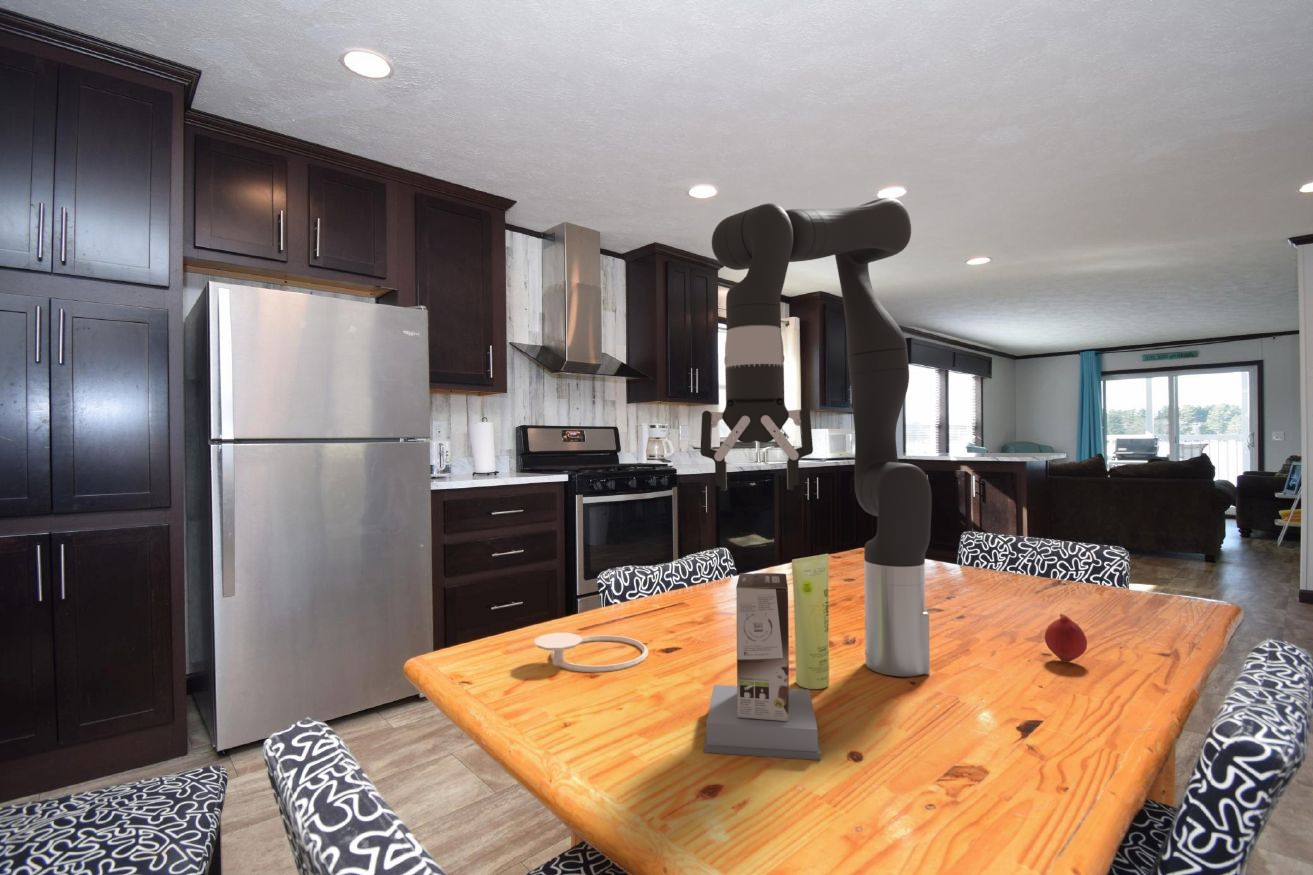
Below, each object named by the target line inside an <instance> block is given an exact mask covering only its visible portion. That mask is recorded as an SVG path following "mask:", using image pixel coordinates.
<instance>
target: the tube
mask: <svg viewBox="0 0 1313 875" xmlns="http://www.w3.org/2000/svg"><path fill="white" fill-rule="evenodd" d="M829 561H830V556H829V553H825V554H824V553H823V554H819V555H813V556H807V557H806V556H805V557H800V558H795V559H791V571H792V588H793V590H792V591H793V610H794V611H793V614H794V615H793V616H794V619H793V620H794V644H795V645H794V646H795V647H794V649H795V682H796V684H797V685H798V687H799V686H800V687H801V688H804V689H806V690H821V689H825V688H827V687H829V685H830V645H829V644H830V642H829V640H830V638H829V636H830V634H829V632H830V631H829V628H830V627H829V624H830V622H829V620H830V619H829V618H830V617H829V616H830V615H829V610H830V609H829V608H830V607H829V603H830V602H829V576H830V575H829V573H830V572H829V566H830V565H829V564H830V563H829Z"/></svg>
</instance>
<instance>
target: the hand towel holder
mask: <svg viewBox="0 0 1313 875" xmlns="http://www.w3.org/2000/svg"><path fill="white" fill-rule="evenodd" d="M533 640H534V644H535V646H536V647H537V648H538V649H542V650H544V651H550V652H551V651H552V652H551V654H550V657H551V660H552V662H551V663H552V665H553V666H554V667H561V668H563V669H565V670H570V671H575V672H583V673H606V672H614V671H619V670H625V669H628V668H632V667H635V666H637V665H639V664H640V663H642V662H644V660H645V659H647V658H648V655H649V650H648V648H647V647H646V645H645V644H644V643H643V642H641V641H640V640H637V639H634V638H631V637H627V636H621V635H606V634H605V635H599V634H598V635H587V636H581V635H579V634H575V633H571V632H553V633H547V634H542V635H540V636H538V637H537V638H535V639H533ZM593 641H594V642H618V643H623V644H630V645H632V646H636V647H637V648H638V649H640V650H641V651H642V653H641V654H640V655H639V656H637V657H636V658H634V659H630V660H627V661H624V662H620V663H614V664H606V665H605V664H603V665H589V664H588V665H585V664H578V663H572V662H568V661H565V660H564V651H565V650H566V651H567V650H570V649H575V648H576V647H577V646H579V645H580V644H584V643H585V644H586V643H591V642H593Z"/></svg>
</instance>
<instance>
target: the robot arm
mask: <svg viewBox="0 0 1313 875" xmlns="http://www.w3.org/2000/svg"><path fill="white" fill-rule="evenodd" d="M908 212H909V211H908V210H907V208H906V207H905V205H904V204H903V203H902V202H901V201H900V200H898V199H896V198H893V197H882V198H878V199H874V200H870V201H868V202H866V203H862V204H859V205H857V206H851V207H841V208H839V207H838V208H817V209H816V208H815V209H814V208H795V209H793V208H792V209H785V210H784V209H783V207H781V206H780V205H779V204H775V203H769V202H768V203H764V204H760V205H757V206H753V207H751V208H749V209H745V210H744V211H741V212H738V213H735V214H733V215H729V216H727V217H726V218H724V219H723V220H721V221H720V222H719V223H718V224H717V225H716V227H715V229H714V231H713V233H712V236H711V248H712V252H713V255H714V257H715V258H716V260H717V261H718V262H719V263H720V264H721V265H722V266H723V267H725V268H728V269H729V270H734V271H742V270H747V273H746V275H745V277H743V279H742V280H740V281H738V283H736V284H734V285H732V286H731V287H730V288H729V289H728V291H727V293H726V299H725V310H726V312H725V315H726V318H725V320H726V321H725V322H726V323H725V324H726V332H725V333H726V337H725V343H724V344H725V345H724V361H723V362H724V366H725V372H724V373H725V375H724V376H725V408H724V410H723V411H710V410H704V411H703V412H702V413H701V427H700V429H701V430H700V432H701V433H700V450H699V452H700V455H701V456H702V457H706V458H708V459H712V461H713V462H714V466H715V467H714V470H715V471H714V472H715V474H714V475H715V485H716V487H717V486H718V487H720V491H727V490H728V485H727V484H728V483H727V481H728V480H727V479H728V478H727V476H728V475H727V471H728V470H727V461H726V456H727V455H728V453H729V452H730V451H731V449H733V447H734V445H735V444H736V443H737V441H739V442H741V443H743V444H750V443H753V442H759V443H763V444H764V443H770V442H771V441H775V442H776V443H777V445H778V446H779V447H780V448H781V450H782V451H783V452H784V454H785V455H786V456H787V460H786V482H787V483H786V486H787V487H786V489H787V490H788V491H789V490H792V491H794V486H798V484H799V482H800V475H799V474H800V470H799V468H800V467H799V464H800V463H799V462H800V460H801V459H802V458H803V457H806V456H809V455H811V454H813V452H814V445H813V433H812V422H811V412H810V409H809V408H807V407H803V408H801V409H792V410H791V409H790V410H788V409H787V406H786V403H785V364H784V362H785V355H784V342H783V335H782V329H781V328H782V311H781V309H782V308H781V297H782V293H783V288H784V285H785V280H786V278H787V271H788V268H789V265H790V264H789V263H795V262H796V263H797V262H798V263H799V262H805V261H812V260H818V259H823V258H828V257H832V256H835V262H836V267H837V273H838V279H839V284H840V290H841V295H842V302H843V310H844V319H845V329H846V331H845V332H846V343H847V345H846V346H847V360H848V361H847V362H848V371H849V372H848V373H849V380H850V382H849V383H850V388H851V397H852V398H851V400H852V411H853V412H852V413H853V426H854V444H855V445H854V492H855V495H856V496H855V497H856V500H857V502H858V504H859V506H860V507H861V508H862V510H864V512H866V513H868V514H869V515H872V516H874V517H877V528H876V529H877V530H876V534H875V536H874V537H873V538H872V539H870V540H868V541H866V543H865V544H864V550H863V551H864V552H863V555H864V556H863V558H864V561H863V563H864V564H863V566H864V623H865V624H864V625H865V626H864V629H865V631H864V632H865V634H864V636H865V639H864V640H865V643H864V644H865V647H864V648H865V650H864V651H865V652H864V654H865V666H866V667H867V668H869V669H870V670H871V671H874V672H875V673H879V674H882V675H886V676H887V675H888V676H891V677H892V676H893V677H903V678H904V677H906V678H907V677H917V676H922V675H930V674H931V670H930V668H931V667H930V664H931V663H930V662H931V661H930V657H931V656H930V649H931V648H930V614H929V612H928V611H927V610H926V563H925V562H926V552H927V550H928V548H929V545H930V542H931V526H932V524H931V523H932V490H931V489H932V488H931V485H930V481H929V479H928V477H927V474H926V473H925V472H924V471H923V470H922V468H920V467H919V466H917V465H914V464H911V463H905V462H899V458H898V457H899V456H898V450H897V426H898V425H897V424H898V420H899V417H900V414H901V412H902V408H903V405H904V402H905V398H906V396H907V392H908V389H909V382H910V369H909V368H910V367H909V365H910V364H909V354H908V344H907V339H906V337H905V335H904V332H903V331H902V329H901V328H900V326H899V325H898V324H897V322H896V321H895V320H894V318H893V317H892V315H890V313H889V312H888V311H887V309H885V307H884V306H883V305H882V303H881V302H880V301H879V299H878V298H877V296H876V294H875V292H874V289H873V286H872V282H871V278H870V272H869V271H870V270H869V264H870V263H873V262H874V263H875V262H876V261H877V262H878V261H880V260H884V259H887V258H890V257H893V256H895V255H898V254H899V253H901V252H902V251H904V249H906V248H907V246H908V244H909V243H910V241H911V236H912V222H911V219H910V215H909V213H908ZM788 419H791V420H792V421H793V424H794V425H795V426H797V427H799V429H800V430H799V431H800V442H801V443H800V444H801V445H800V447H797V448H795V447H794V446H793V445H792V444H791V442H790V441H789V440H788V438H787V437H786V436H785V435H784V433H783V432H782V431H781V430H782V429H783V427H784V425H785V424H786V423H787V422H788ZM721 420H722V421H723V422H724V424H725V425H726V427H727V428H728V429H729V430H730V433H729V434H728V436H727V437H726V438H725V439H724V441H723V443H722V444H721V445H720V447H719V448H718V449H714V448H712V434H713V433H712V431H713V429H712V428H716V427H717V426H718V424H719V422H720V421H721Z"/></svg>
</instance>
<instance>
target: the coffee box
mask: <svg viewBox="0 0 1313 875" xmlns="http://www.w3.org/2000/svg"><path fill="white" fill-rule="evenodd" d="M737 579H738V580H737V583H736V588H735V589H736V686H737V716H738V717H739V718H752V719H764V720H776V721H787V720H788V703H789V689H790V682H789V681H790V652H789V651H790V644H789V643H790V642H789V641H790V640H789V638H790V637H789V636H790V635H789V634H790V633H789V631H790V630H789V629H790V628H789V587H788V579H787V574H786V573H777V572H775V573H774V572H772V573H771V572H770V573H769V572H762V573H761V572H758V573H755V572H754V573H743V572H742V573H741V572H740V573H739V575H738V578H737Z"/></svg>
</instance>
